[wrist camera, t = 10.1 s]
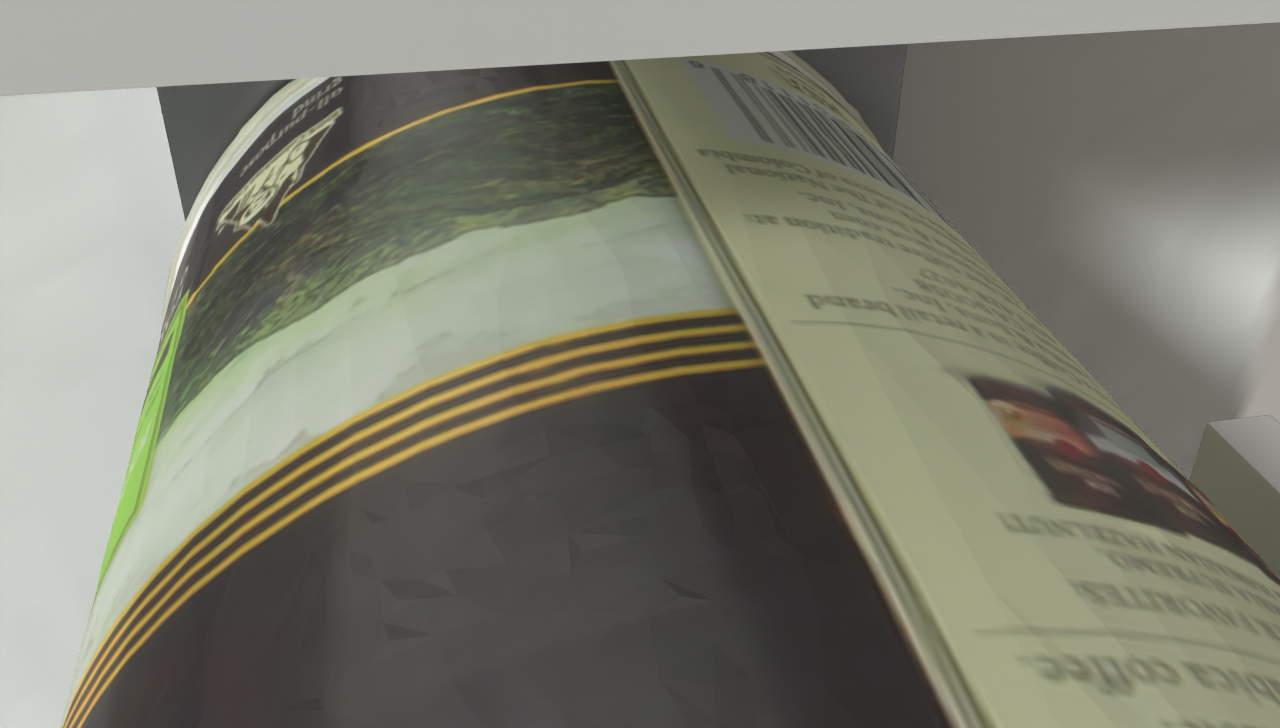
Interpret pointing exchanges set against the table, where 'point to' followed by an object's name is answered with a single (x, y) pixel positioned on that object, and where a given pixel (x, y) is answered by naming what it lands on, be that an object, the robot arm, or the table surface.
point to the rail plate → (220, 110)
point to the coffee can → (635, 438)
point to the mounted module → (507, 33)
